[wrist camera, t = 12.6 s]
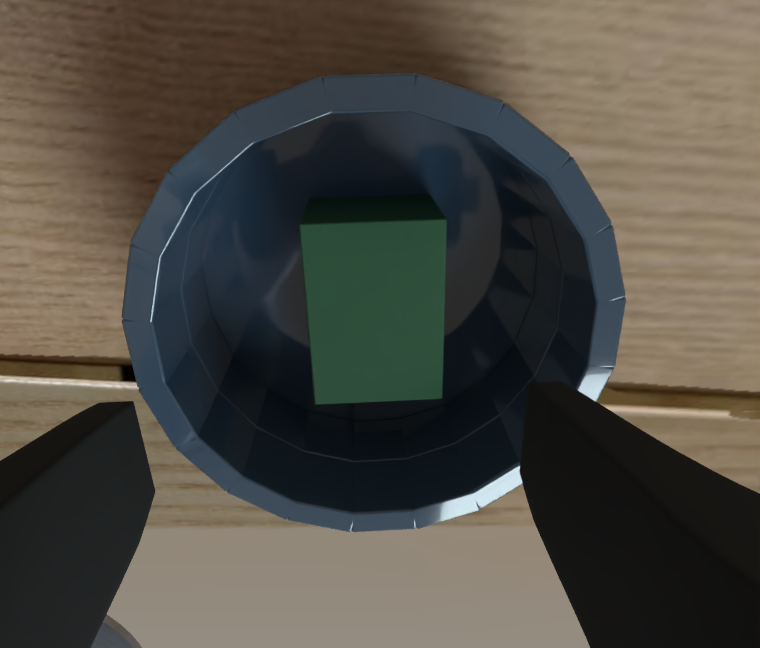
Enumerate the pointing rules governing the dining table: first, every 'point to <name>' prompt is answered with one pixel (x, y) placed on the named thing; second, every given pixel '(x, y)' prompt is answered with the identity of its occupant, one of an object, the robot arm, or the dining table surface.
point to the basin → (288, 305)
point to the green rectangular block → (375, 297)
